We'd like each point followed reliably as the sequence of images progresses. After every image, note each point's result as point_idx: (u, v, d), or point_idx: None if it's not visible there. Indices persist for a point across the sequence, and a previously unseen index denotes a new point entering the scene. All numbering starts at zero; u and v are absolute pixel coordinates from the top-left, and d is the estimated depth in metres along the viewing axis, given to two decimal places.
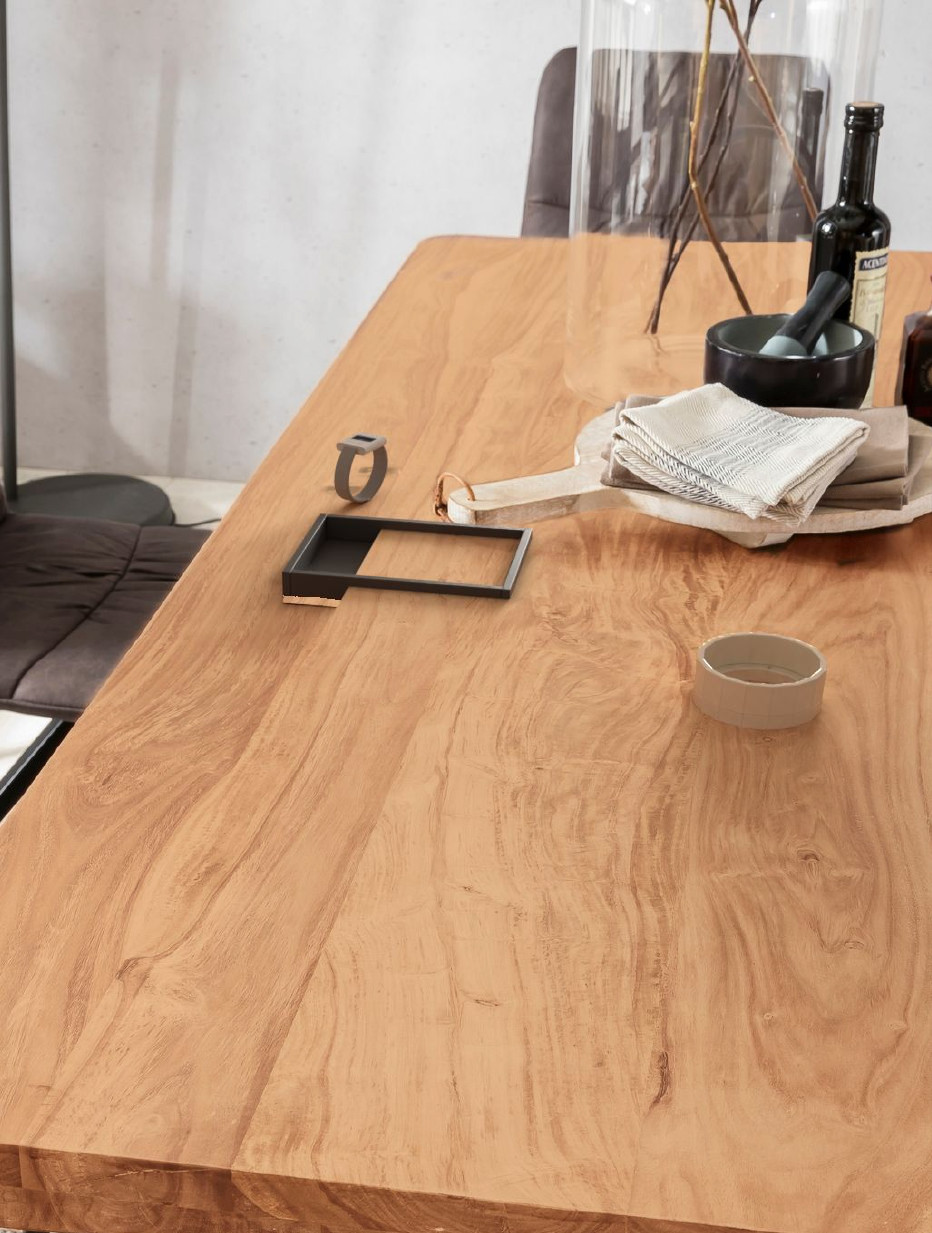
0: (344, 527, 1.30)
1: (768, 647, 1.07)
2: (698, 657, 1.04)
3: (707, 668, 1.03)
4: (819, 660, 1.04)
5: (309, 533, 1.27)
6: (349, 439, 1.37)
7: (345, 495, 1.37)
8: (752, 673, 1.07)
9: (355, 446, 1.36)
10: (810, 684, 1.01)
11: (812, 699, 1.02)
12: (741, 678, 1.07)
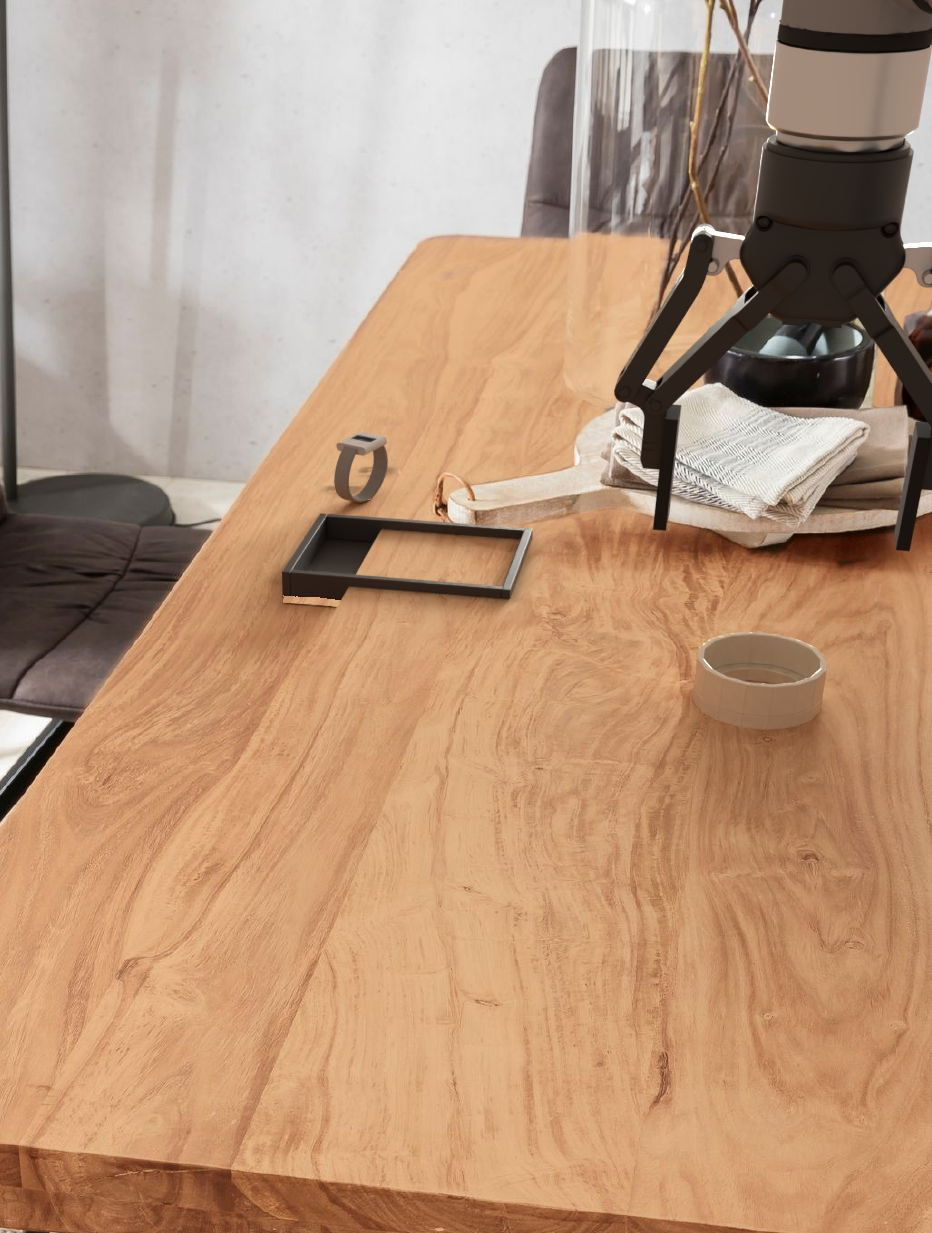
0: (344, 527, 1.30)
1: (768, 647, 1.07)
2: (698, 657, 1.04)
3: (707, 668, 1.03)
4: (819, 660, 1.04)
5: (309, 533, 1.27)
6: (349, 439, 1.37)
7: (345, 495, 1.37)
8: (752, 673, 1.07)
9: (355, 446, 1.36)
10: (810, 684, 1.01)
11: (812, 699, 1.02)
12: (741, 678, 1.07)
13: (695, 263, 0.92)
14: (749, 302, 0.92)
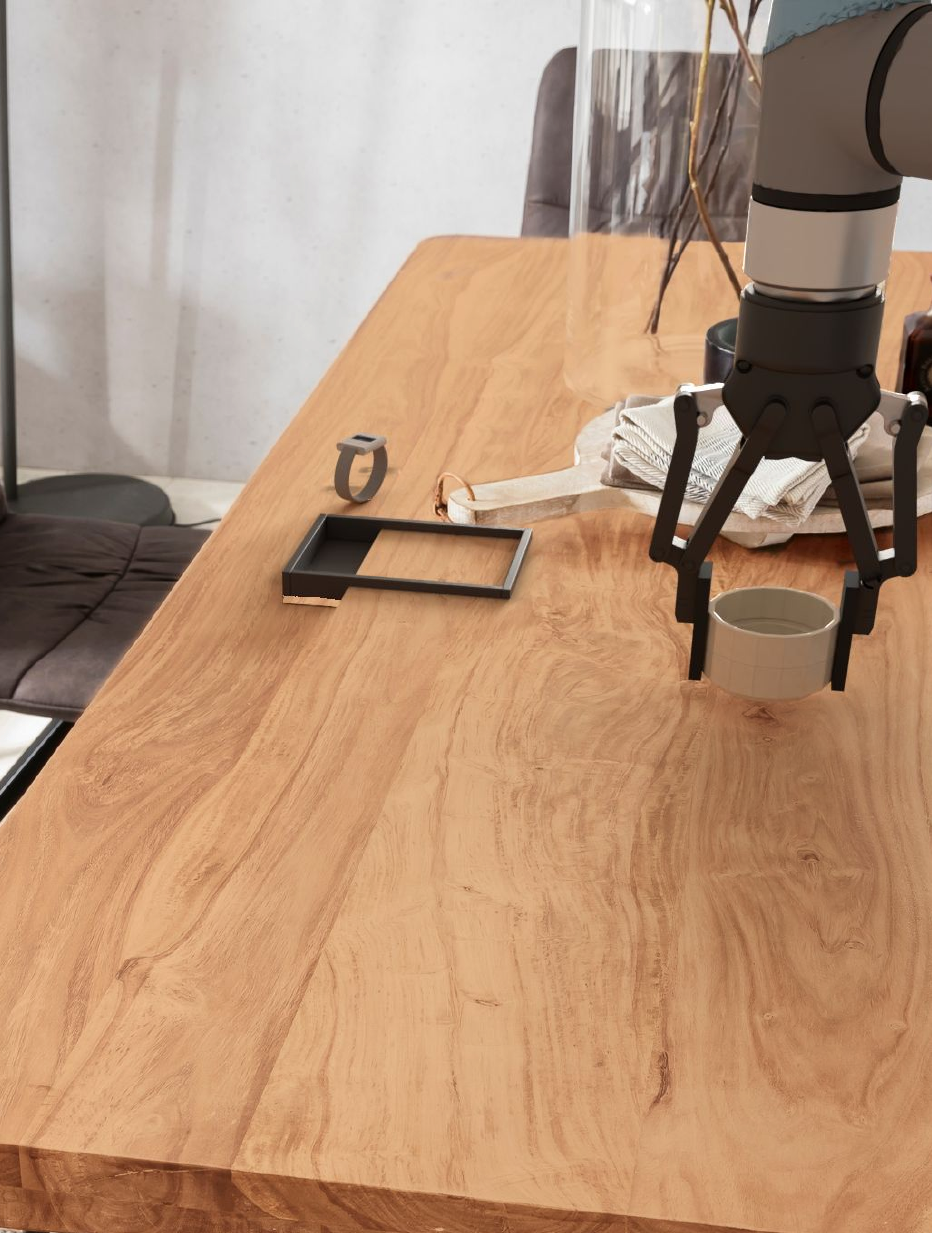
0: (344, 527, 1.30)
1: (780, 601, 1.05)
2: (709, 610, 1.02)
3: (718, 621, 1.01)
4: (832, 612, 1.02)
5: (309, 533, 1.27)
6: (349, 439, 1.37)
7: (345, 495, 1.37)
8: (764, 628, 1.05)
9: (355, 446, 1.36)
10: (824, 635, 0.99)
11: (826, 651, 1.00)
12: None
13: (684, 422, 0.96)
14: (742, 450, 0.95)
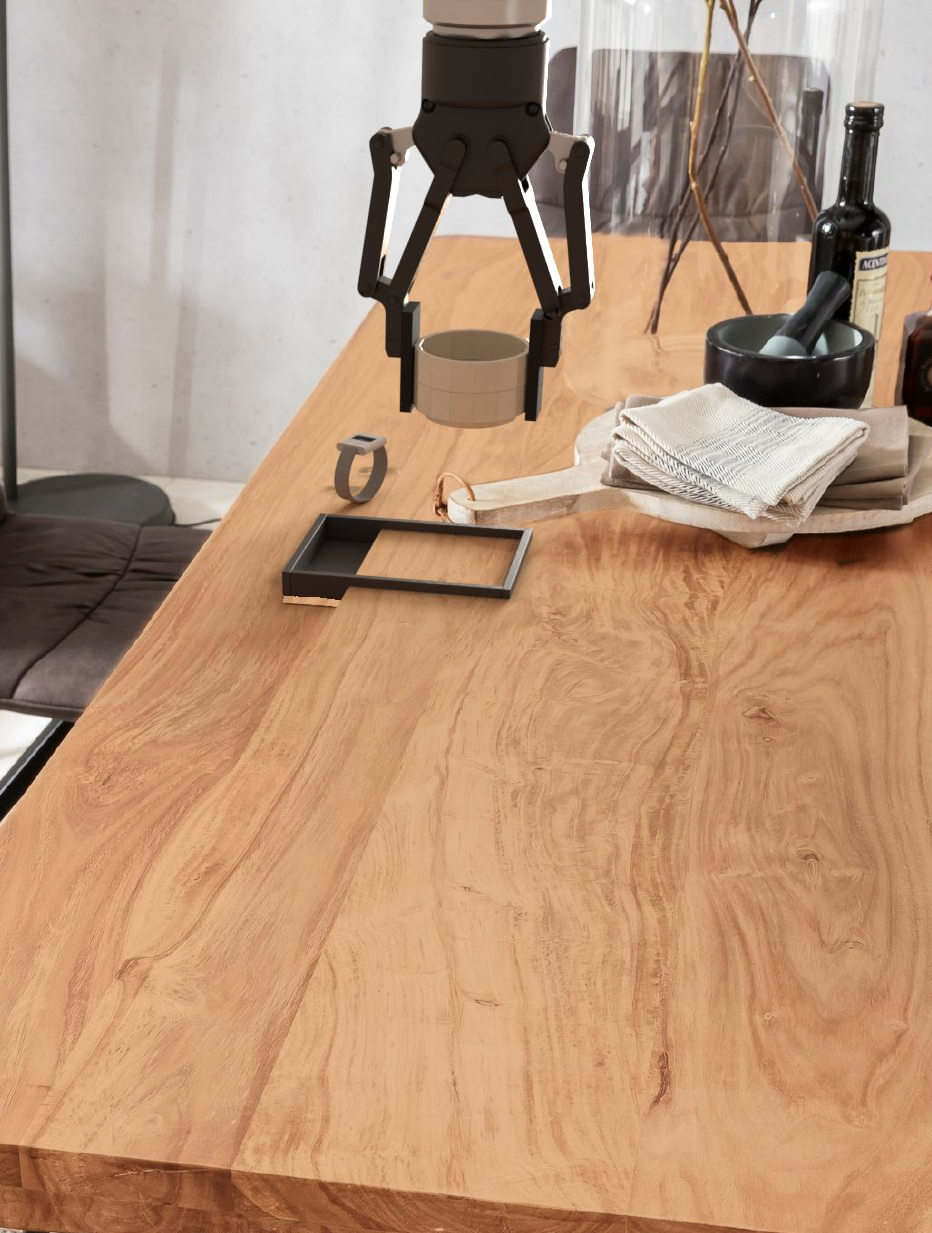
0: (344, 527, 1.30)
1: (487, 343, 1.15)
2: (415, 344, 1.12)
3: (420, 351, 1.11)
4: (526, 347, 1.12)
5: (309, 533, 1.27)
6: (349, 439, 1.37)
7: (345, 495, 1.37)
8: None
9: (355, 446, 1.36)
10: (511, 363, 1.10)
11: (515, 379, 1.11)
12: None
13: (379, 160, 1.06)
14: (430, 186, 1.06)
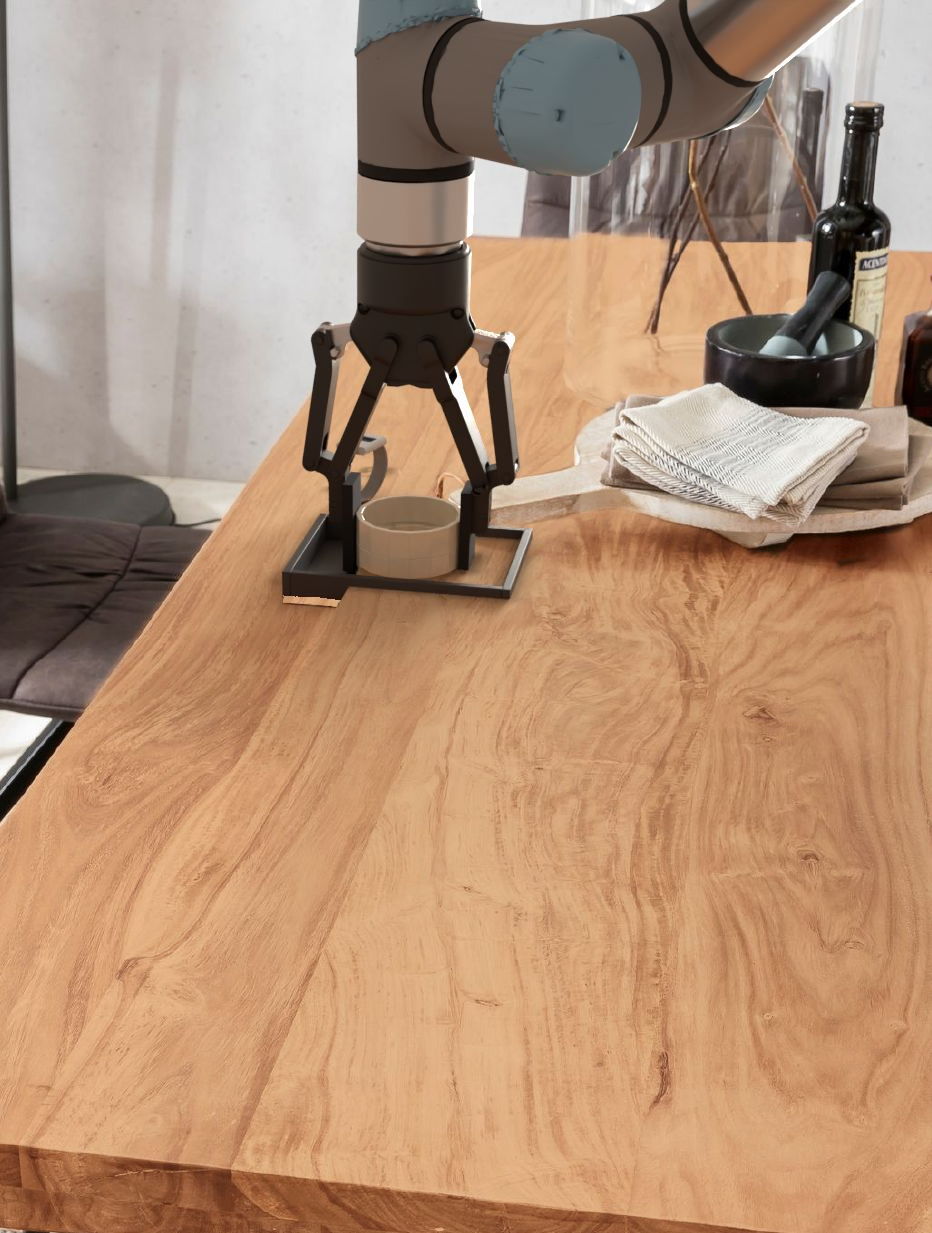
0: None
1: (424, 507, 1.26)
2: (357, 512, 1.23)
3: (361, 520, 1.22)
4: (458, 514, 1.23)
5: (309, 533, 1.27)
6: None
7: None
8: (411, 530, 1.27)
9: None
10: (443, 532, 1.21)
11: (447, 546, 1.21)
12: None
13: (320, 354, 1.17)
14: (366, 378, 1.17)
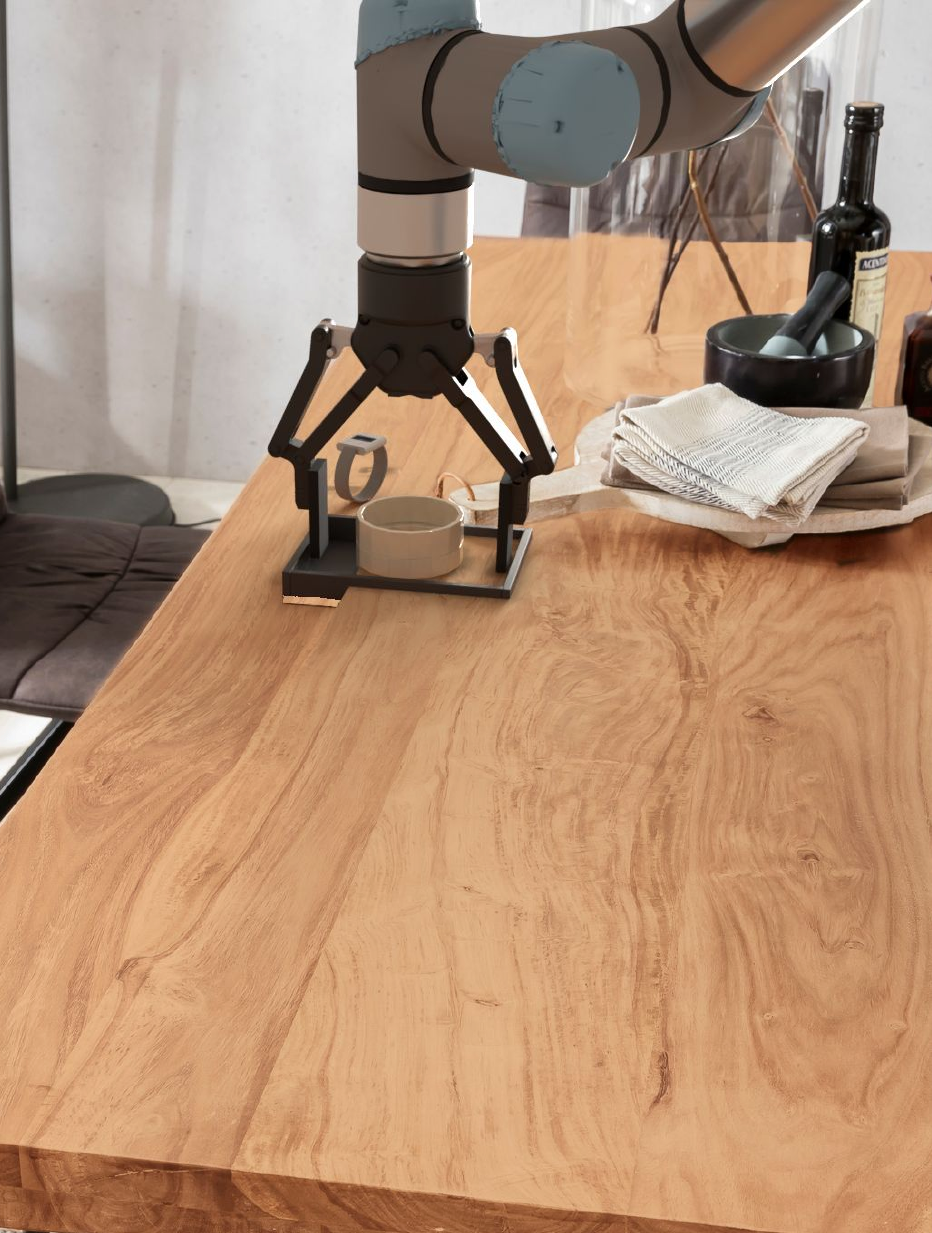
0: (344, 527, 1.30)
1: (424, 507, 1.26)
2: (357, 512, 1.23)
3: (361, 520, 1.22)
4: (458, 514, 1.23)
5: None
6: (349, 439, 1.37)
7: (345, 495, 1.37)
8: (411, 530, 1.27)
9: (355, 446, 1.36)
10: (443, 532, 1.21)
11: (448, 546, 1.21)
12: None
13: (316, 350, 1.17)
14: (359, 380, 1.17)
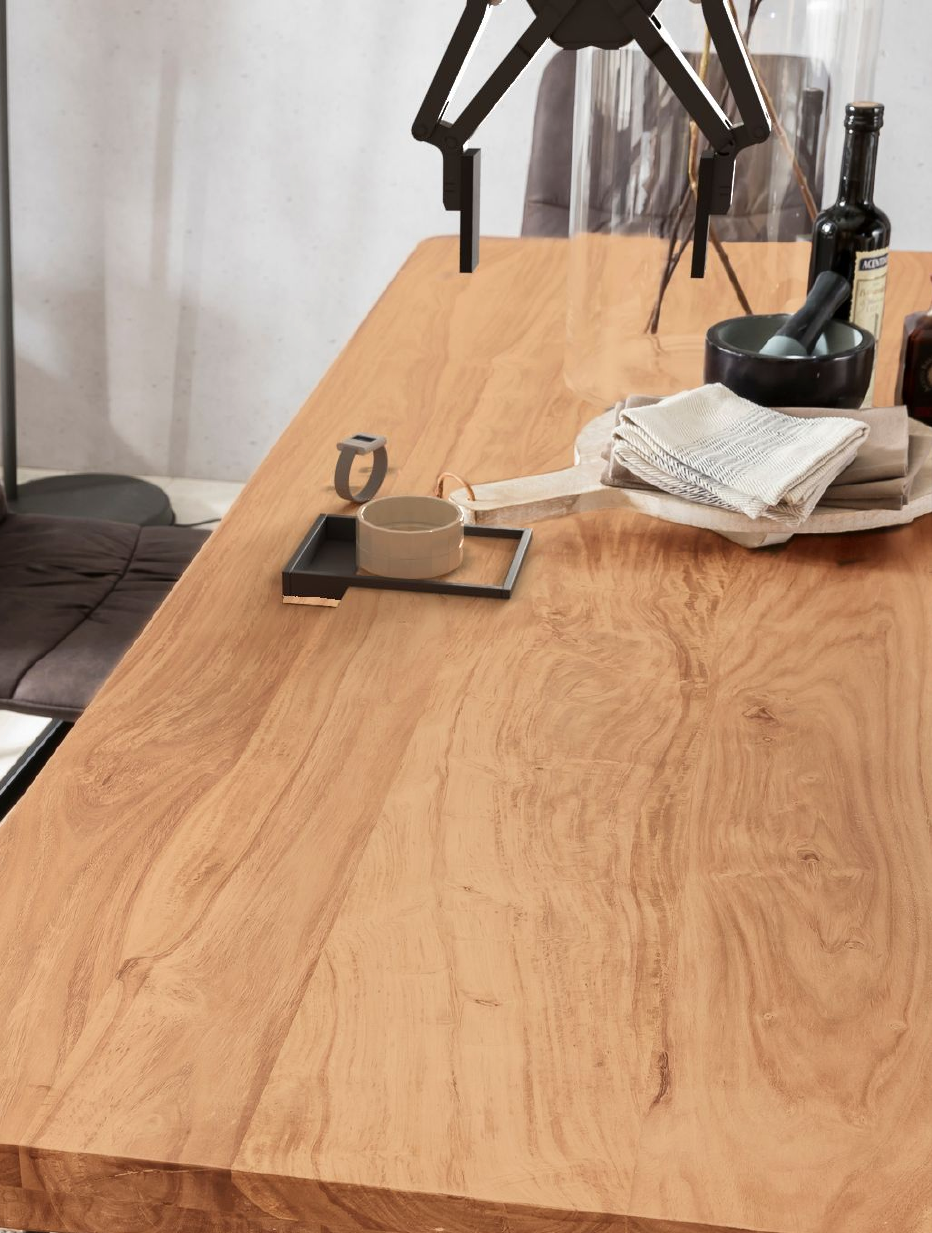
0: (344, 527, 1.30)
1: (424, 507, 1.26)
2: (357, 512, 1.23)
3: (361, 520, 1.22)
4: (458, 514, 1.23)
5: (309, 533, 1.27)
6: (349, 439, 1.37)
7: (345, 495, 1.37)
8: (411, 530, 1.27)
9: (355, 446, 1.36)
10: (443, 532, 1.21)
11: (448, 546, 1.21)
12: None
13: None
14: (529, 27, 0.95)
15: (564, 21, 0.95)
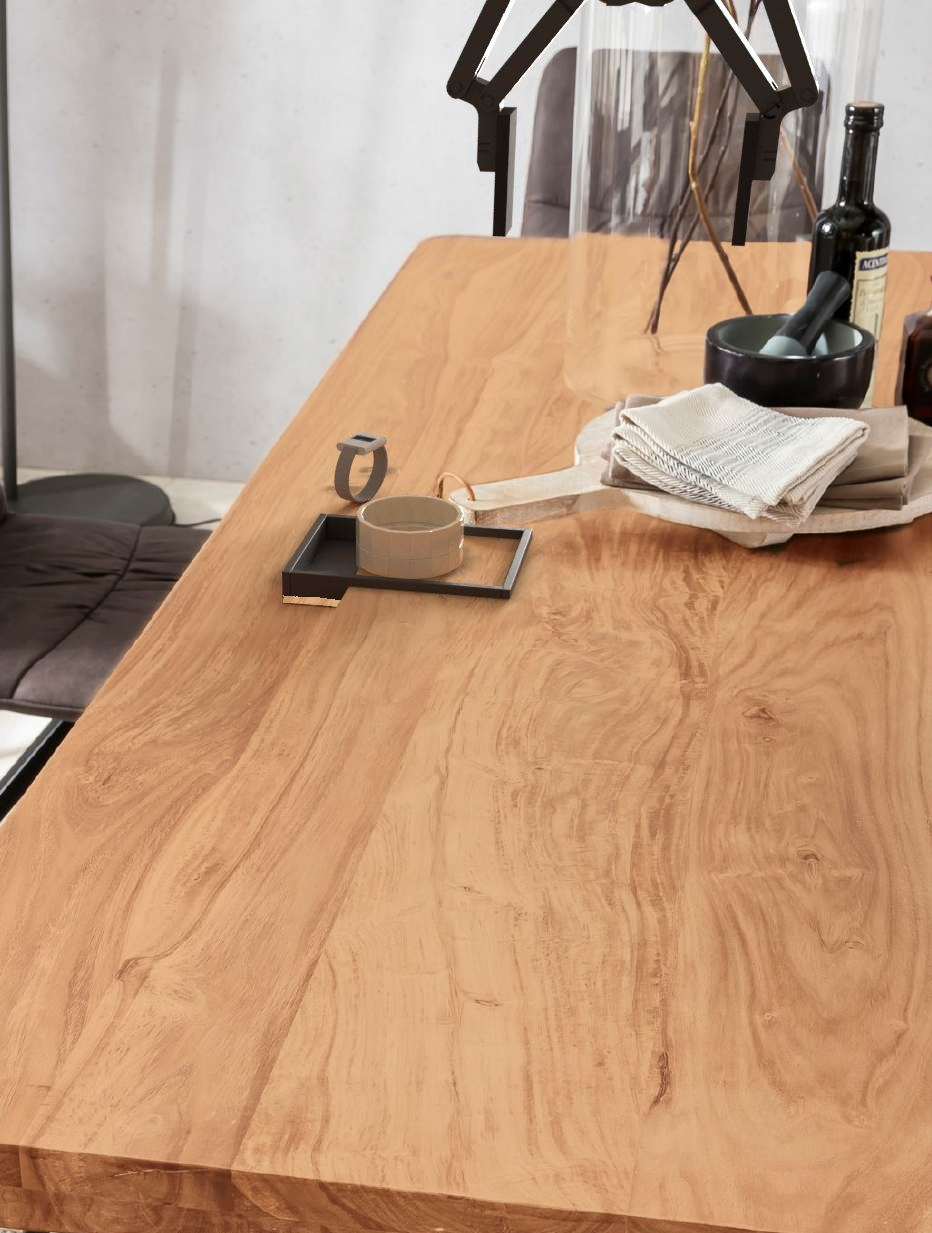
0: (344, 527, 1.30)
1: (424, 507, 1.26)
2: (357, 512, 1.23)
3: (361, 520, 1.22)
4: (458, 514, 1.23)
5: (309, 533, 1.27)
6: (349, 439, 1.37)
7: (345, 495, 1.37)
8: (411, 530, 1.27)
9: (355, 446, 1.36)
10: (443, 532, 1.21)
11: (448, 546, 1.21)
12: None
13: None
14: None
15: None
